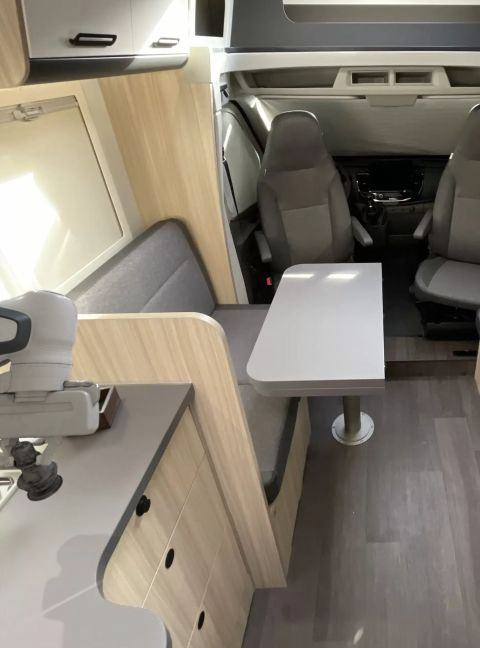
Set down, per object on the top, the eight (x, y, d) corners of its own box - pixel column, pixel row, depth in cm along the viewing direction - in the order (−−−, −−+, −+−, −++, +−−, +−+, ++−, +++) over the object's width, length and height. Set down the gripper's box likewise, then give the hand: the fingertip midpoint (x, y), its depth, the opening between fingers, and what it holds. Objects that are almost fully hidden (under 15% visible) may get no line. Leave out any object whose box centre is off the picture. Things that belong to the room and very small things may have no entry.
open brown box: (66, 435, 97) (58, 419, 94) (80, 406, 104) (73, 391, 102) (110, 427, 99) (103, 412, 96) (121, 400, 106) (114, 385, 104)
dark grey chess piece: (65, 491, 77) (38, 445, 71) (24, 509, 74) (-8, 462, 68) (64, 467, 82) (38, 421, 75) (25, 483, 79) (-5, 437, 73)
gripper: (110, 380, 81) (102, 460, 78) (-6, 385, 80) (-20, 466, 77) (90, 378, 75) (80, 465, 72) (-36, 384, 74) (-53, 472, 71)
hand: (27, 466), depth 74 cm, fingers closed on dark grey chess piece, 3 cm apart
